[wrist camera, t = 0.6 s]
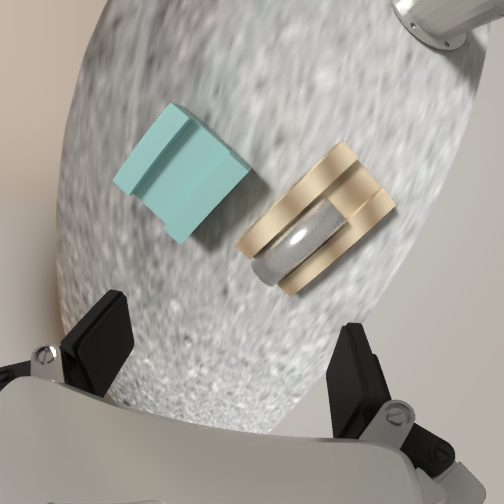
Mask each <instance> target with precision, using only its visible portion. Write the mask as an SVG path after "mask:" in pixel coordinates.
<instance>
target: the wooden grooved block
mask: <svg viewBox="0 0 504 504" xmlns="http://www.w3.org/2000/svg"><path fill="white" fill-rule="evenodd" d="M357 159H358V157H357V156H356V155H355V154H354V152H353V151H352V150H351V149H350V148H349V147H348V146H347V145H346V144H345V142H339V143H338V144H337V145H336V146H335V147H333V148H332V149H331V150H330V151H329V152H328V153H327V154H326V155H325V156H324V157H323V158H322V159H321V160H320V161H319V162H318V163H316V164H315V165H314V166H313V167H312V168H311V169H310V170H309V171H308V172H307V173H306V174H305V175H304V176H303V177H302V178H301V179H300V180H299V181H298V182H296V183H295V184H294V185H293V186H292V187H291V188H290V189H289V190H288V191H287V192H286V193H285V194H284V195H283V196H282V197H281V198H280V199H279V200H278V201H277V202H276V203H275V204H274V205H273V206H271V207H270V208H269V209H268V210H267V211H266V212H265V213H264V214H263V215H262V216H261V217H260V218H259V219H258V220H257V221H256V222H255V223H254V224H253V225H252V226H251V227H250V228H249V229H248V230H247V231H246V232H245V233H244V234H243V235H242V236H241V237H240V238H239V239H238V240H237V242H236V244H235V247H236V248H238V249H239V250H240V251H241V252H242V253H243V254H244V255H245V256H246V257H247V258H249V259H251V258H252V257H254V258H255V259H256V258H257V257H258V256H259V255H260V254H261V253H263V252H264V251H265V250H266V249H267V248H268V247H269V246H270V245H271V244H272V243H273V242H275V241H276V240H277V239H278V238H279V237H280V236H281V235H282V234H283V233H284V232H285V231H286V230H287V229H289V228H290V227H291V226H292V225H293V224H294V223H295V222H296V221H297V220H298V219H299V218H300V217H302V216H303V215H304V214H305V213H306V212H307V211H308V210H309V209H310V208H311V207H312V206H313V205H314V204H316V203H317V202H318V201H319V200H320V199H321V198H322V197H323V196H324V195H325V196H326V197H327V198H328V200H329V201H330V202H331V203H332V204H333V205H334V206H335V207H336V208H337V209H338V211H339V212H340V213H341V214H342V215H343V216H344V217H345V219H346V220H347V222H346V223H345V224H344V225H343V226H342V227H341V228H339V229H338V230H337V231H336V232H335V233H334V234H333V235H332V236H331V237H329V238H328V239H327V240H326V241H325V242H324V243H323V244H322V245H320V246H319V247H318V248H317V249H316V250H315V251H314V252H312V253H311V254H310V255H309V256H308V257H307V258H306V259H304V260H303V261H302V262H301V263H300V264H299V265H298V266H296V267H295V268H294V269H293V270H292V271H291V272H289V273H288V274H287V275H286V276H285V277H284V278H282V279H281V280H280V281H279V282H278V286H279V287H280V288H281V289H283V290H284V291H285V292H286V293H287V294H288V295H289V296H290V297H292V296H293V295H294V294H295V293H296V292H298V291H299V290H300V289H301V288H303V287H304V286H305V285H306V284H307V283H309V282H310V281H311V280H312V279H313V278H315V277H316V276H317V275H318V274H319V273H321V272H322V271H323V270H324V269H325V268H327V267H328V266H329V265H330V264H331V263H332V262H334V261H335V260H336V259H337V258H338V257H339V256H340V255H342V254H343V253H344V252H345V251H346V250H347V249H349V248H350V247H351V246H352V245H353V244H354V243H355V242H356V241H358V240H359V239H360V238H361V237H362V236H363V235H364V234H365V233H366V232H368V231H369V230H370V229H371V228H372V227H373V226H374V225H375V224H376V223H377V222H379V221H380V220H381V219H382V218H383V217H384V216H385V215H386V214H387V213H388V212H389V211H390V210H391V209H392V208H394V207H395V206H396V204H395V203H394V202H393V200H392V199H391V198H390V196H389V195H388V194H387V192H386V191H385V190H384V189H382V188H380V187H379V185H378V184H377V183H376V182H375V180H374V179H373V178H372V177H371V175H370V174H369V173H368V172H367V171H366V169H365V168H364V167H363V166H362V165H361V164H360V162H359V161H358V160H357Z"/></svg>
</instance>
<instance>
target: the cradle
mask: <svg viewBox="0 0 504 504" xmlns="http://www.w3.org/2000/svg"><path fill="white" fill-rule="evenodd" d="M251 169H252V168H251V167H250V166H249V165H248V164H247V163H246V162H245V161H244V160H243V159H242V158H241V157H239V156H238V155H237V154H236V153H235V152H234V151H233V150H232V149H231V148H230V147H229V146H227V145H226V144H225V143H224V142H223V141H222V140H221V139H220V138H219V137H217V136H216V135H215V134H214V133H213V132H212V131H211V130H210V129H208V128H207V127H206V126H205V125H204V124H203V123H202V122H200V121H199V120H198V119H197V118H196V117H195V116H194V115H192V114H191V113H190V112H189V111H188V110H187V109H185V108H184V107H183V106H181V105H178V104H174V103H170V104H169V105H168V106H167V108H166V109H165V110H164V111H163V112H162V114H161V115H160V116H159V117H158V118H157V120H156V121H155V122H154V124H153V125H152V126H151V127H150V129H149V130H148V131H147V133H146V134H145V135H144V136H143V138H142V139H141V140H140V142H139V143H138V145H137V146H136V147H135V149H134V150H133V151H132V153H131V154H130V156H129V157H128V159H127V160H126V161H125V163H124V164H123V166H122V167H121V169H120V170H119V172H118V173H117V175H116V176H115V178H114V179H113V182H114V183H115V184H116V185H117V186H118V187H119V188H120V189H122V190H123V191H124V192H125V193H126V194H127V195H128V196H130V195H132V194H135V195H136V196H137V197H138V198H139V199H140V200H141V201H142V202H143V203H144V204H145V205H146V206H147V207H148V208H150V209H151V210H152V211H153V212H154V213H155V214H156V215H157V216H158V217H159V218H160V219H161V220H162V221H163V222H164V223H166V225H165V226H164V227H163V229H164V230H165V231H166V232H167V233H168V234H169V235H170V236H171V237H172V238H173V239H175V240H176V241H177V242H178V243H179V244H180V245H181V244H182V243H183V242H184V241H185V240H186V238H187V237H188V236H189V235H190V234H191V233H192V232H193V231H194V230H195V228H196V227H197V226H198V225H199V224H200V223H201V222H202V221H203V220H204V219H205V217H206V216H207V215H208V214H209V213H210V212H211V211H212V210H213V209H214V208H215V207H216V206H217V205H218V203H219V202H220V201H221V200H222V199H223V198H224V197H225V196H226V195H227V194H228V193H229V192H230V191H231V190H232V189H233V188H234V187H235V186H236V184H237V183H238V182H239V181H240V180H241V179H242V178H243V177H244V176H245V175H246V174H247V173H248V172H249V171H250V170H251Z"/></svg>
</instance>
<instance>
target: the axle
mask: <svg viewBox="0 0 504 504" xmlns="http://www.w3.org/2000/svg"><path fill="white" fill-rule="evenodd" d="M346 222H347V220H346V219H345V217H344V216H343V215H342V214H341V213H340V212H339V211H338V209H337V208H336V207H335V206H334V205H333V204H332V203H331V202H330V201H329V200H328V198H327V197H326V196H325V195H324V196H323V197H322V198H321V199H320V200H319V201H318V202H317V203H316V204H314V205H313V206H312V207H311V208H310V209H309V210H308V211H307V212H306V213H305V214H304V215H303V216H302V217H300V218H299V219H298V220H297V221H296V222H295V223H294V224H293V225H292V226H291V227H290V228H289V229H287V230H286V231H285V232H284V233H283V234H282V235H281V236H280V237H279V238H278V239H277V240H276V241H275V242H273V243H272V244H271V245H270V246H269V247H268V248H267V249H266V250H265V251H264V252H263V253H261V254H260V255H259V256H258V257H257V258H256V259H255V260H254V261H253V262H252V268H253V270H254V272H255V274H256V275H257V276H258V278H259V279H260V280H261V281H262V282H264V283H265V284H266V285H268V286H271V287H272V286H274V285H275V284H276V283H278V282H279V281H280V280H281V279H282V278H284V277H285V276H286V275H287V274H288V273H289V272H291V271H292V270H293V269H294V268H295V267H296V266H298V265H299V264H300V263H301V262H302V261H303V260H304V259H306V258H307V257H308V256H309V255H310V254H311V253H312V252H314V251H315V250H316V249H317V248H318V247H319V246H320V245H322V244H323V243H324V242H325V241H326V240H327V239H328V238H329V237H331V236H332V235H333V234H334V233H335V232H336V231H337V230H338V229H339V228H341V227H342V226H343V225H344V224H345V223H346Z"/></svg>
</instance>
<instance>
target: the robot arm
mask: <svg viewBox="0 0 504 504" xmlns="http://www.w3.org/2000/svg"><path fill="white" fill-rule="evenodd" d="M391 3H392V6H393V9H394V11H395V13H396V15H397V17H398V18H399V19H400V21H401V22H402V24H403V25H404V26H405V27H406V28H407V29H408V30H409V31H410V32H411V33H412V34H413V35H414V36H415V37H417V38H418V39H419V40H421V41H422V42H424V43H426V44H427V45H429V46H431V47H434V48H436V49H440V50H448V51H450V50H454V49H457V48H459V47H460V46H462V45H463V44H464V42H465V40H466V36H467V32H468V31H470V30H472V29H475V28H477V27H480V26H482V25H484V24H487V23H489V22H492V21H494V20H497V19H500V18H502V17H504V0H391ZM133 347H134V338H133V333H132V327H131V322H130V316H129V310H128V304H127V298H126V296H125V295H124V294H123V292H121V291H117V290H112V289H111V290H109V291H108V292H107V293H106V294H105V295H104V296H103V297H102V298H101V299H100V300H99V301H98V302H97V303H96V304H95V305H94V306H93V307H92V308H91V309H90V310H89V312H88V313H87V314H86V315H85V316H84V317H83V318H82V319H81V320H80V321H79V322H78V323H77V324H76V326H75V327H74V328H73V329H72V330H71V331H70V332H69V333H68V334H67V336H66V337H65V338H64V339H63V340H62V341H61V346H60V347H59V348H58V347H57V346H56V345H54V344H43V345H40V346H39V347H37V348H36V349H35V350H34V351H33V352H32V355H31V360H29V361H25V362H21V363H17V364H13V365H8V366H4V367H1V368H0V504H483V502H484V500H485V498H486V490H485V488H484V486H483V485H482V484H481V483H480V482H479V481H478V480H477V478H475V476H474V475H473V474H472V473H471V472H470V471H469V470H468V469H467V468H466V467H465V466H464V465H463V464H462V463H461V462H458V463H457V462H456V461H455V452H454V449H453V447H452V446H451V445H450V444H449V443H448V442H446V441H445V440H443V439H441V438H439V437H438V436H436V435H434V434H432V433H431V432H429V431H427V430H426V429H424V428H422V427H421V426H419V425H417V424H416V423H414V421H415V413H414V411H413V409H412V407H411V406H410V405H409V404H407V403H406V402H403V401H401V400H392V399H391V396H390V393H389V390H388V387H387V384H386V381H385V378H384V375H383V372H382V369H381V366H380V363H379V360H378V358H377V356H376V355H375V354H372V351H371V349H370V346H369V343H368V340H367V338H366V335H365V332H364V329H363V326H362V324H361V323H347V325H346V326H342V328H341V332H340V335H339V338H338V340H337V343H336V346H335V349H334V352H333V355H332V358H331V360H330V363H329V366H328V369H327V372H326V380H327V388H328V395H329V403H330V412H331V420H332V429H333V437H334V438H311V437H292V436H277V435H266V434H256V433H248V432H240V431H233V430H227V429H220V428H214V427H209V426H204V425H198V424H194V423H189V422H184V421H180V420H175V419H171V418H167V417H163V416H160V415H156V414H152V413H148V412H145V411H141V410H138V409H135V408H132V407H128V406H125V405H122V404H119V403H116V402H113V401H110V400H107V399H104V398H103V397H104V396H105V394H106V392H107V391H108V389H109V387H110V386H111V384H112V382H113V381H114V379H115V377H116V376H117V374H118V372H119V371H120V369H121V367H122V366H123V364H124V362H125V361H126V359H127V358H128V356H129V354H130V353H131V351H132V349H133Z"/></svg>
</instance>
